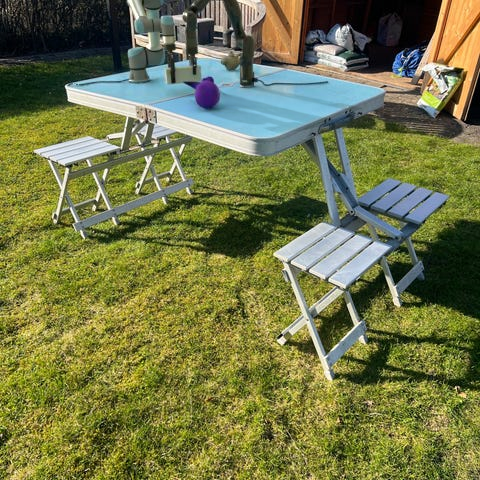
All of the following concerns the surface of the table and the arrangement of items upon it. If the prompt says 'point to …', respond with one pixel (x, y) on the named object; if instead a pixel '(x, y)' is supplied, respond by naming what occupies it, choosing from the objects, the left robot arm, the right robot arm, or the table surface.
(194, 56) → the right robot arm
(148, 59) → the left robot arm
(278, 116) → the table surface
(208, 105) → the toy
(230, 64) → the teapot
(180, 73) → the bar
